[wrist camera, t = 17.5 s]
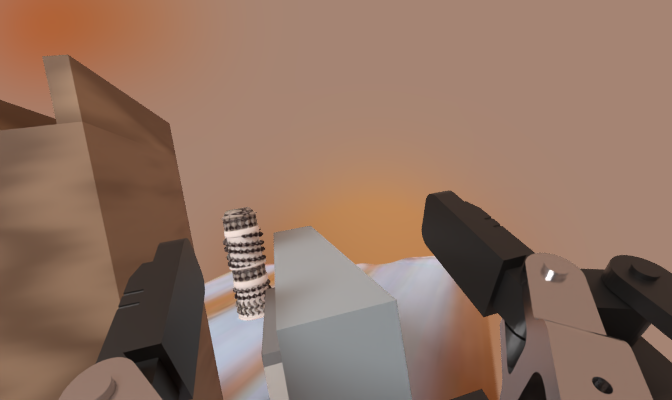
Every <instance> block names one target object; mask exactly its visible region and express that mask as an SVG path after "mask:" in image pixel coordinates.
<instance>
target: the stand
mask: <svg viewBox="0 0 672 400" xmlns="http://www.w3.org/2000/svg"><path fill="white" fill-rule="evenodd" d="M43 62H44V66H45V71H46V76H47V80H48V85H49V89H50V94H51V99H52V104H53V108H54V113H55V117H56V119H54V118H51V117H48V116H45V115H42V114H39V113H36V112H34V111H31V110H27V109H25V108H22V107H19V106H16V105H13V104H10V103H7V102H5V101H2V100H0V400H58V399H59V398H60V396H61V394H62V393H63V391H64V390H65V389H66V387H67V386H68V385H69V384H70V383H71V382H72V381H73V380H74V379H75V378H76V377H77V376H78V375H79V374H81V373H82V372H83V371H85V370H86V369H88V368H89V367H91V366H93V365H94V364H95V363H96V361H97V359H98V356H99V354H100V351H101V349H102V346H103V343H104V341H105V338H106V336H107V333H108V331H109V328H110V326H111V323H112V321H113V318H114V316H115V313H116V311H117V310H118V309H119V307H118V305H119V303H120V300H121V298H122V296H124V294H123V293H124V290H125V288H126V285H127V283H128V280H129V278H130V277H131V276H132V274H133V273H134V272H135V271H136V270H137V269H138V268H139V267H140V266H141V264H142V263H147V262H152V261H153V259H154V256H155V253H156V250H157V247H158V245H159V243H161V242H167V241H172V240H178V239H183V238H188V239H189V241H190V242H191V245H192V248H193V243H192V238H191V233H190V227H189V222H188V217H187V212H186V206H185V201H184V196H183V191H182V186H181V181H180V176H179V171H178V166H177V160H176V155H175V150H174V145H173V140H172V135H171V130H170V124H169V123H168V122H166V121H165V120H163V119H162V118H160V117H159V116H157V115H156V114H154V113H153V112H152V111H150V110H149V109H147V108H146V107H144V106H142V105H141V104H139V103H138V102H137V101H135V100H134V99H132V98H131V97H129V96H128V95H127V94H125V93H124V92H122V91H121V90H119V89H118V88H116V87H115V86H113V85H112V84H110V83H109V82H107V81H106V80H104V79H103V78H101V77H100V76H98V75H97V74H96V73H94V72H93V71H91V70H90V69H88V68H87V67H85V66H84V65H82V64H81V63H79V62H78V61H76V60H75V59H73V58H72V57H71V56H69V55H59V56H43ZM193 250H194V248H193ZM191 400H223V396H222V391H221V386H220V381H219V376H218V371H217V366H216V360H215V355H214V350H213V345H212V340H211V335H210V330H209V325H208V319H207V314H206V309H205V304H203V313H202V322H201V331H200V340H199V349H198V358H197V367H196V376H195V385H194V395H193V399H191Z"/></svg>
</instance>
